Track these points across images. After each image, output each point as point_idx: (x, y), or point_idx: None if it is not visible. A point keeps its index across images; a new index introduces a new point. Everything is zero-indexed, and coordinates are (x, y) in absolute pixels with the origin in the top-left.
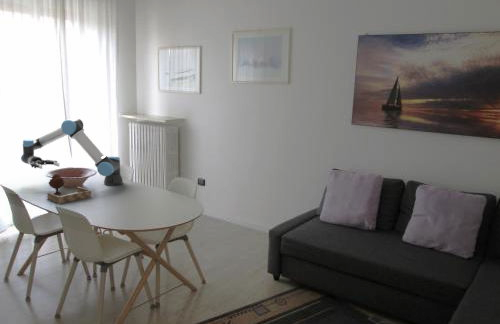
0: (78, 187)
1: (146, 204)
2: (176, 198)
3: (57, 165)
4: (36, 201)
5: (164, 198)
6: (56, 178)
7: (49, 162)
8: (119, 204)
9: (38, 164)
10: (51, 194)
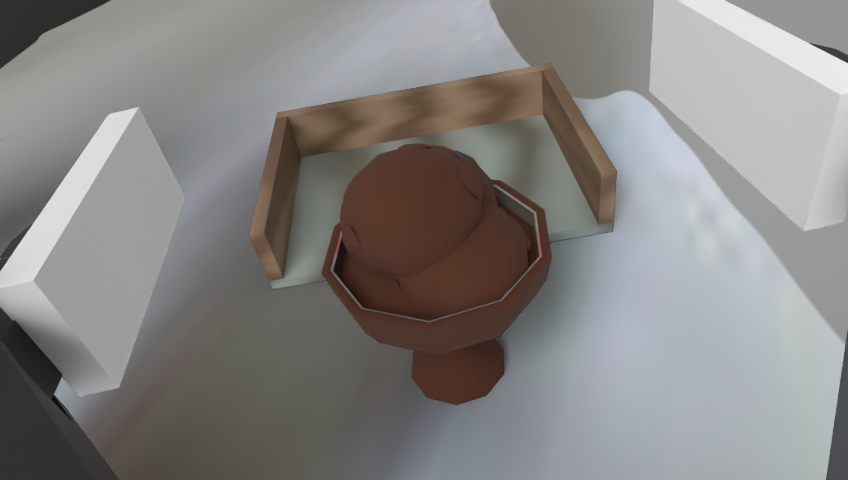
0: (268, 215)
1: (216, 24)
2: (70, 42)
3: (167, 203)
4: (727, 220)
5: (93, 51)
6: (446, 148)
7: (101, 474)
8: (290, 43)
9: (773, 26)
10: (587, 124)
